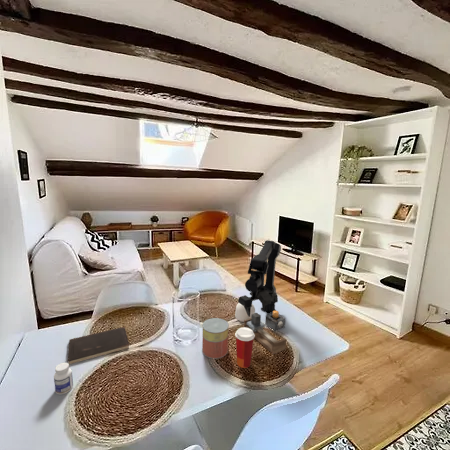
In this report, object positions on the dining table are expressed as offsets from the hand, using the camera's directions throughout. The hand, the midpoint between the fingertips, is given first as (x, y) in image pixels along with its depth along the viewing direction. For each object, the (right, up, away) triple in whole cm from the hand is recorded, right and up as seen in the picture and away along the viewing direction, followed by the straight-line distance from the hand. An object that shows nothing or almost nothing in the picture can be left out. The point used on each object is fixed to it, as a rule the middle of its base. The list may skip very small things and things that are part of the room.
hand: (256, 313), depth 124 cm
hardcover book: (-71, -11, -12) cm, 73 cm away
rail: (+3, -10, -3) cm, 11 cm away
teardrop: (-4, -7, +15) cm, 18 cm away
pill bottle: (-72, -14, -35) cm, 81 cm away
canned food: (-20, -12, -13) cm, 26 cm away
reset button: (+10, -5, +6) cm, 13 cm away
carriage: (0, -8, +1) cm, 8 cm away
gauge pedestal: (+10, -9, +7) cm, 15 cm away
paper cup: (-8, -13, -20) cm, 25 cm away
